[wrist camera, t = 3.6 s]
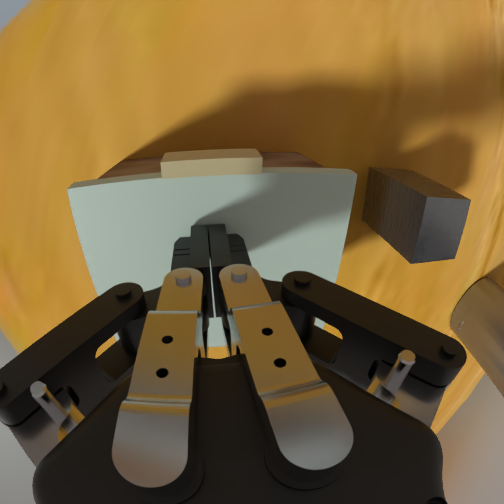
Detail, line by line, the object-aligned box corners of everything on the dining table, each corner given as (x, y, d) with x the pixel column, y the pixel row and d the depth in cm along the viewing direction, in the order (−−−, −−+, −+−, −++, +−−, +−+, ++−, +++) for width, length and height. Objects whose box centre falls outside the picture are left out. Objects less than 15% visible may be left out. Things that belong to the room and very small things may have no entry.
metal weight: (412, 170, 21) (470, 199, 15) (403, 219, 23) (454, 258, 17) (369, 166, 20) (427, 196, 14) (361, 220, 22) (410, 263, 16)
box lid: (345, 151, 13) (361, 160, 12) (314, 319, 19) (322, 336, 18) (76, 163, 11) (62, 175, 10) (123, 332, 17) (120, 351, 16)
